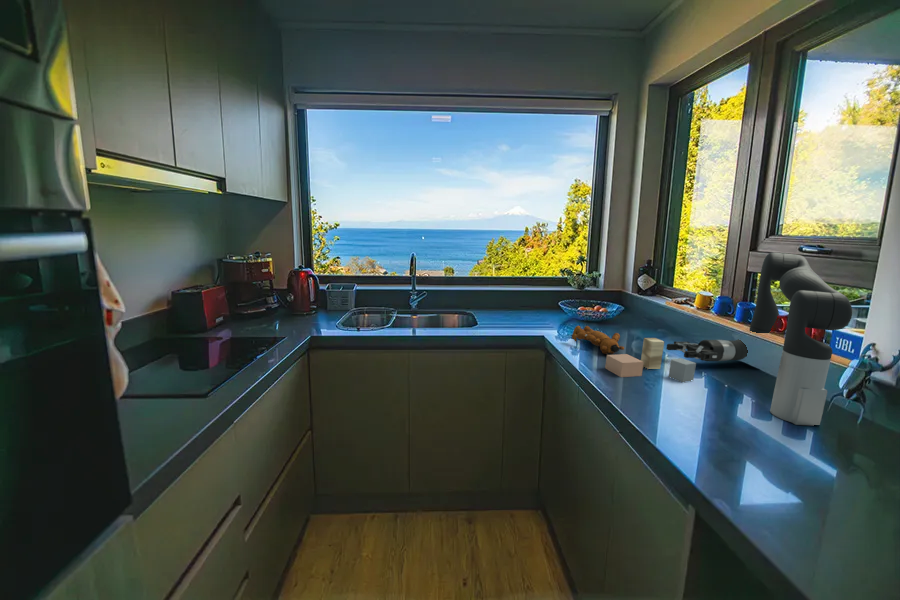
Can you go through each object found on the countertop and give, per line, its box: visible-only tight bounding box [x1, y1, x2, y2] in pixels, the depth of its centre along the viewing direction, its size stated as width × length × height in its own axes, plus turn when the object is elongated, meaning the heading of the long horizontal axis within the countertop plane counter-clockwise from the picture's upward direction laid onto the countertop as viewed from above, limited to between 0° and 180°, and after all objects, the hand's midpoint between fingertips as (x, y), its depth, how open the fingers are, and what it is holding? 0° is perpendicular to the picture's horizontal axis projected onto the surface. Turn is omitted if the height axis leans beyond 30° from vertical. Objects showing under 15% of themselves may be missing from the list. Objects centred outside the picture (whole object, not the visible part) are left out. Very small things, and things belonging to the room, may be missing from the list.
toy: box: [571, 325, 625, 355], centre depth 160 cm, size 20×7×30 cm
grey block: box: [668, 357, 697, 383], centre depth 127 cm, size 5×5×6 cm
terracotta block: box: [604, 353, 644, 378], centre depth 131 cm, size 8×8×5 cm
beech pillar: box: [640, 337, 665, 370], centre depth 137 cm, size 4×4×10 cm
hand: (675, 350), depth 138 cm, fingers open, 8 cm apart
